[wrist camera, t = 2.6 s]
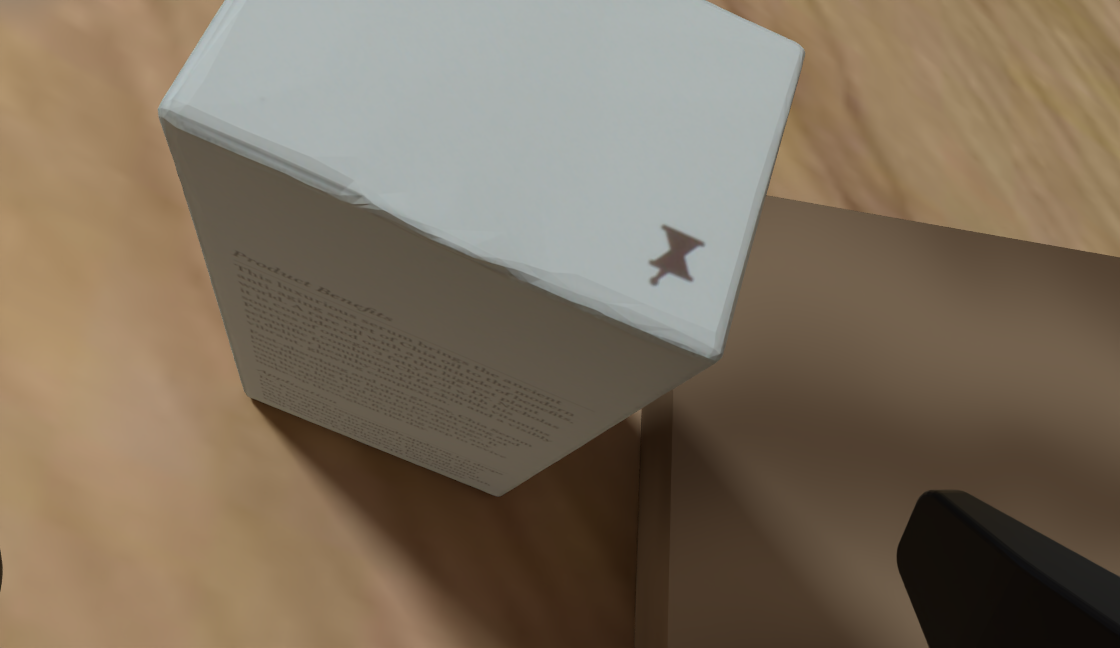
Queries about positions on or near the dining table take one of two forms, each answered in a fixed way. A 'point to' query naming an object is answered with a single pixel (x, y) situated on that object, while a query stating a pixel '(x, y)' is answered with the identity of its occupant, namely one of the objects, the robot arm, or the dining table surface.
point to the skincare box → (477, 210)
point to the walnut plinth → (873, 426)
